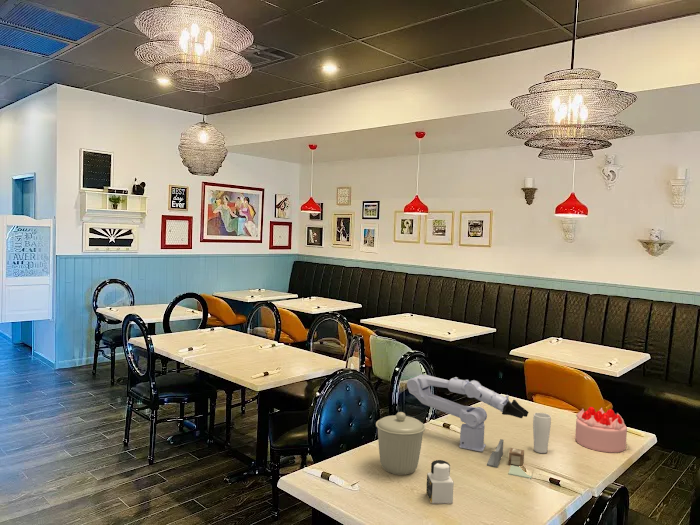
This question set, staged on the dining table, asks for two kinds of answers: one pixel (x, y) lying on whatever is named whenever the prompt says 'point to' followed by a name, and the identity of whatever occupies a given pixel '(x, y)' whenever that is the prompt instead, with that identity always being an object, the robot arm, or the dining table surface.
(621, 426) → the cake
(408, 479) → the dining table surface
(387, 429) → the canister
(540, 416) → the beige paper cup
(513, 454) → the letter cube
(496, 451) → the grey block
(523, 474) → the pad
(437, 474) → the medicine bottle
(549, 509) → the dining table surface
